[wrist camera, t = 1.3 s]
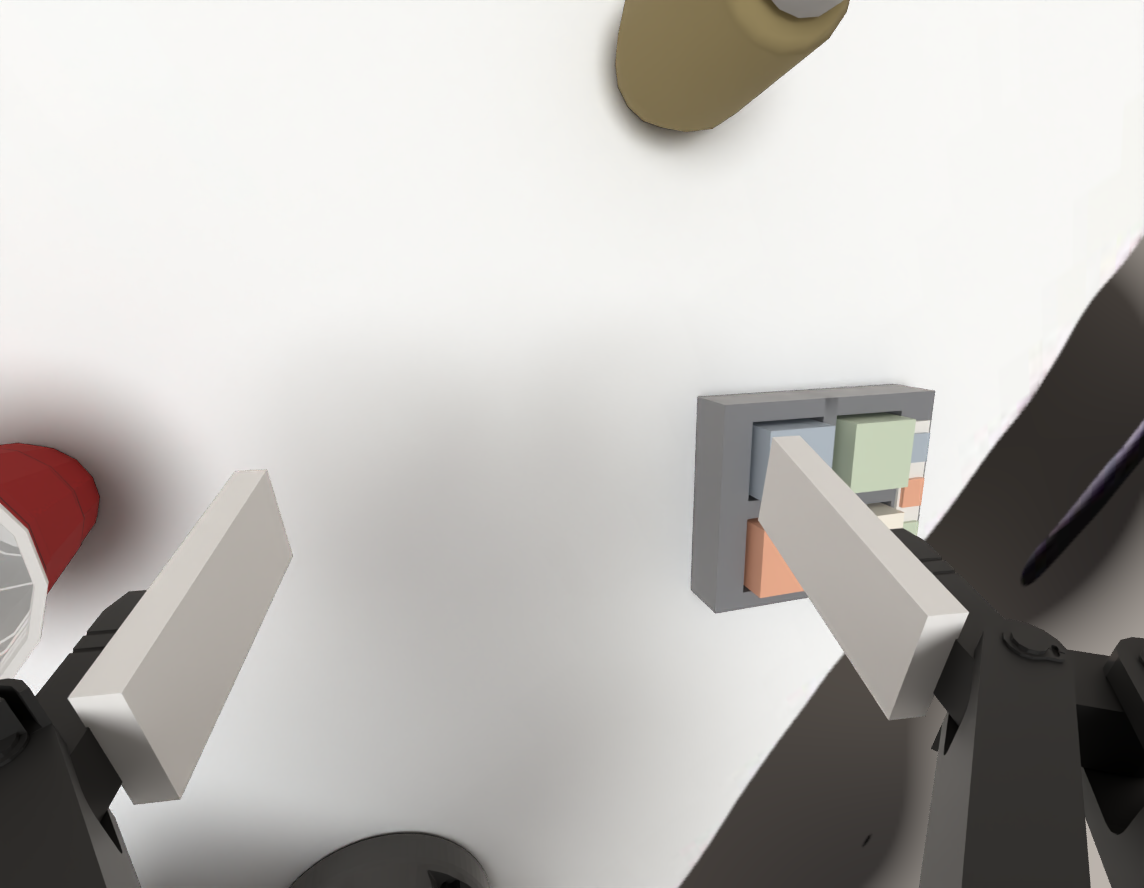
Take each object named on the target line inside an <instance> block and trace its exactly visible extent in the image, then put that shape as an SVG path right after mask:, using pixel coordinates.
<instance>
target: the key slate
mask: <svg viewBox="0 0 1144 888" xmlns="http://www.w3.org/2000/svg"><path fill="white" fill-rule="evenodd" d="M799 435H800V436H801V437H802V438H803V439H804V440H805V442H806V443H807V444H808V445H809V446H810V447H811V448H812V449H813V450H814V451H815V452H816V453H817V454H818V455H819V456H820V457H821V458H822V459H823V460H824V461H825V462H826V463H827V465H828V466H829V467H830V468H831V469H832V459H833V448H834V437H835V426H834V425H830V424H827V423H823V422H819V421H816V420H812V419H809V418H800V419H787V420H774V421H761V422H753V428H752V446H751V463H750V480H749V495H751V496H752V497H754V498H756V499H758V500H760V501H762V495H763V489H764V483H765V478H766V472H767V466H768V460H769V455H770V449H771V443H772V437H783V436H799Z"/></svg>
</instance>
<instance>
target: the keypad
mask: <svg viewBox="0 0 1144 888" xmlns="http://www.w3.org/2000/svg"><path fill="white" fill-rule="evenodd" d="M934 396H935V391H934V390H928V389H922V388H915V387H909V386H903V385H897V384H889V385H874V386H858V387H842V388H826V389H810V390H794V391H779V392H763V393H747V394H731V395H715V396H699V397H698V403H697V432H696V460H695V488H694V517H693V545H692V574H691V590H692V591H693V592H694V593H695V594H696V595H697V596H698V597H699V598H700V599H701V600H702V601H703V602H704V603H705V604H706V605H707V606H708V607H709V608H710V609H711V610H712V611H713V612H714V613H721V612H727V611H733V610H739V609H744V608H750V607H756V606H762V605H768V604H774V603H779V602H785V601H791V600H797V599H803V598H808V596H807V594H806V593H805V591H800V592H794V593H788V594H782V595H776V596H770V597H765V598H759V597H758V596H757V595H755V594H754V593H753V592H752V591H751V590H749V589H748V588H747V587H746V586H744V585H743V584H744V567H745V550H746V532H747V519H752V518H759V512H760V506H761V501H760V500H758V499H756V498H754V497H752V496H751V495H749V480H750V463H751V446H752V428H753V422H761V421H774V420H787V419H800V418H809V419H812V420H816V421H819V422H823V423H827V424H830V425H834V426H835V431H836V420H837V416H838V415H851V414H864V413H877V412H886V413H890V414H895V415H899V416H904V417H908V418H913V419H916V424H915V432H914V440H913V448H912V457H911V465H910V473H909V481H908V487H903V488H895V489H887V490H878V491H870V492H862V493H855V494H856V495H857V496H858V497H859V498H860V499H861V500H862V501H863V502H864V503H865V504H871V503H879V502H880V503H883V504H885V505H888V506H890V507H893V508H895V509H897V510H900V511H902V512H905V513H904V522H903V528H904V529H906V530H907V531H909V532H911V533H912V534H914V535H916V536H917V531H918V524H919V521H918V520H919V512H920V505H921V500H922V493H923V485H924V473H925V465H926V461H927V454H928V446H929V439H930V427H931V419H932V411H933V404H934ZM834 442H835V437H834ZM833 453H834V448H833ZM832 464H833V459H832Z"/></svg>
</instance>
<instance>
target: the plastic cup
mask: <svg viewBox="0 0 1144 888" xmlns="http://www.w3.org/2000/svg"><path fill="white" fill-rule="evenodd" d="M99 499H100V496H99V493H98V491H97V488H96V485H95V482H94V480H93V477H92V476H91V475H90V474H89V473H88V472H87V471H86V469H85V468H84V467H83V466H82V465H81V464H80V463H79V462H78V461H77V460H76V459H74V458H72V457H70V456H68V455H66V454H64V453H62V452H60V451H58V450H56V449H54V448H49V447H42V446H36V445H29V444H22V443H13V444H5V445H0V679H6V678H10V679H13V678H14V676H15V675H16V674H17V672H18V671H19V669H20V668H21V667H22V665H23V664H24V662H25V661H26V660H27V658H28V657H29V655H30V654H31V653H32V651H33V650H34V648H35V647H36V646H37V644H38V643H39V641H40V638H41V634H42V626H43V619H44V612H45V605H46V598H47V594H48V592H49V591H50V589H51V588H52V586H53V585H54V583H55V582H56V581H57V579H58V578H59V576H60V575H61V573H62V572H63V570H64V569H65V568H66V566H67V565H68V563H69V562H70V560H71V559H72V558H73V556H74V555H75V553H76V552H77V550H78V549H79V547H80V546H81V543H82V541H83V540H84V538H85V537H86V535H87V534H88V533H89V531H90V530H91V528H92V527H93V525H94V524H95V523H96V518H97V514H98V506H99Z"/></svg>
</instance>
